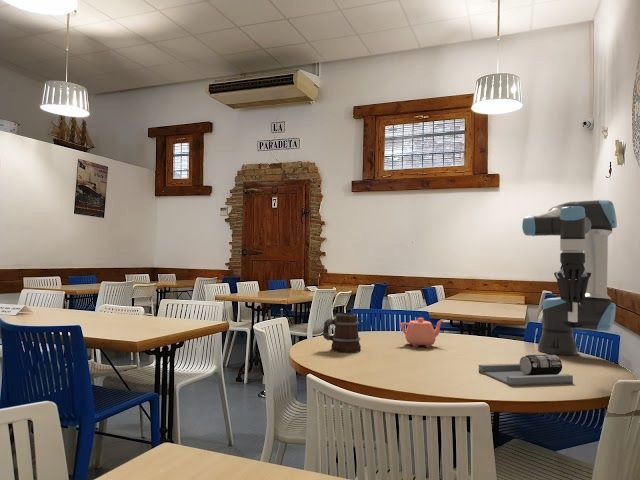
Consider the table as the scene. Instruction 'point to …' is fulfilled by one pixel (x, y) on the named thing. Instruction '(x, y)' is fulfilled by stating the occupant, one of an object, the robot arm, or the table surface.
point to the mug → (343, 333)
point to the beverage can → (540, 365)
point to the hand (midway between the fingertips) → (572, 321)
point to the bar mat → (521, 375)
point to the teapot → (420, 332)
